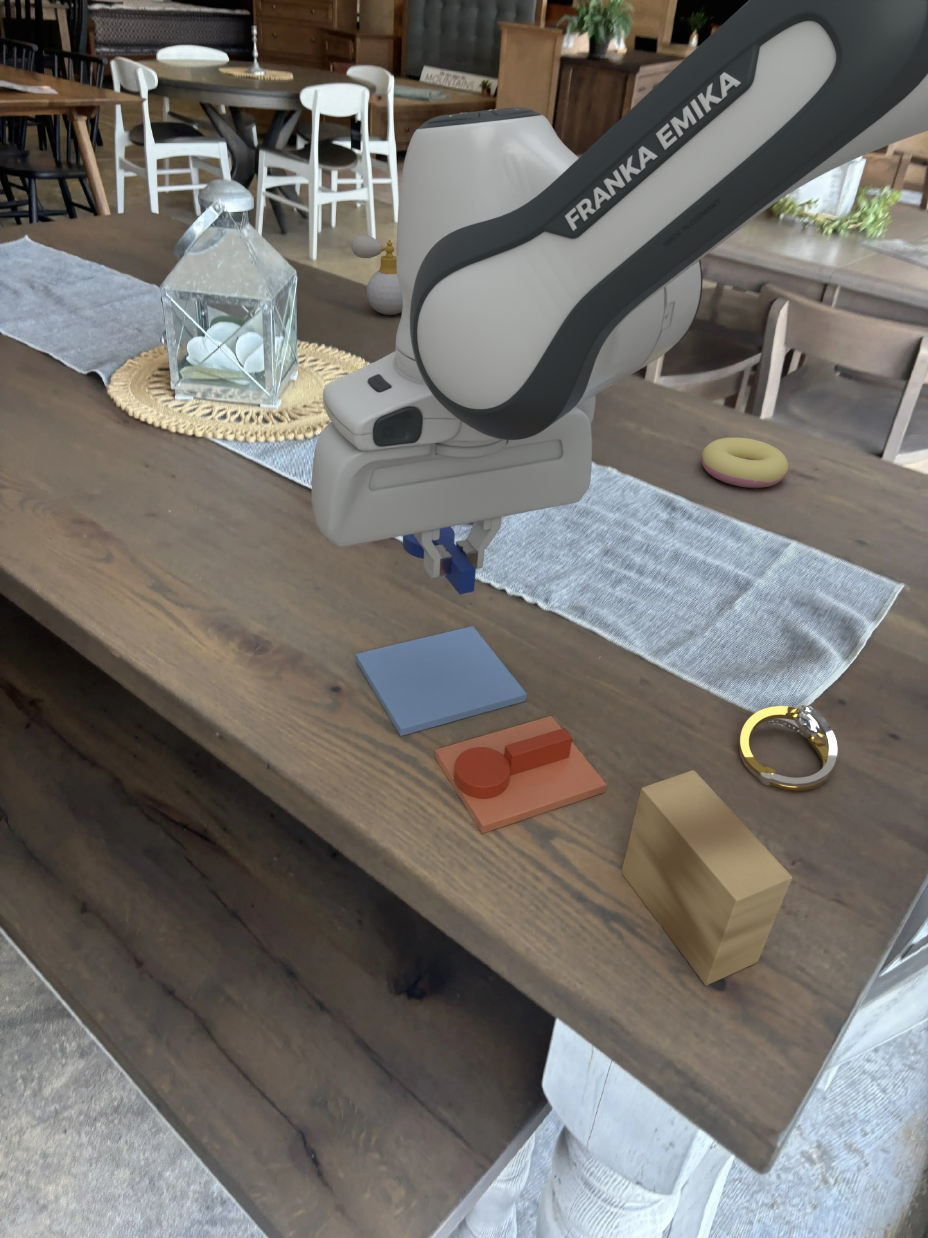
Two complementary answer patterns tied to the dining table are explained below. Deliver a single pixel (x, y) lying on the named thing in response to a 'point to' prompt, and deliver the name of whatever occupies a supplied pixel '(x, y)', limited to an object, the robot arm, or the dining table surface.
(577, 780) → the terracotta tile
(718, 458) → the donut
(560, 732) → the terracotta spoon
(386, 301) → the perfume bottle
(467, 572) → the blue spoon
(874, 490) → the dining table surface
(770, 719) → the ring
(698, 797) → the spoon stand
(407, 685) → the blue tile
